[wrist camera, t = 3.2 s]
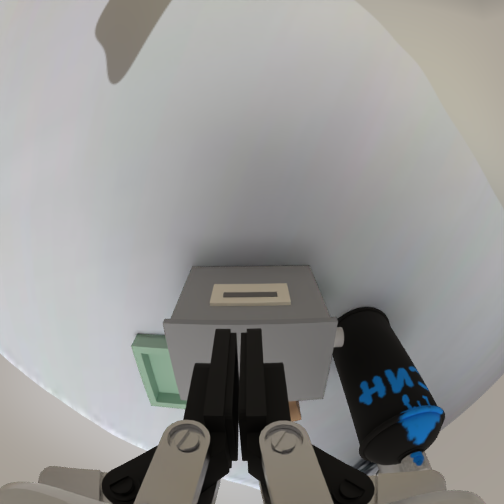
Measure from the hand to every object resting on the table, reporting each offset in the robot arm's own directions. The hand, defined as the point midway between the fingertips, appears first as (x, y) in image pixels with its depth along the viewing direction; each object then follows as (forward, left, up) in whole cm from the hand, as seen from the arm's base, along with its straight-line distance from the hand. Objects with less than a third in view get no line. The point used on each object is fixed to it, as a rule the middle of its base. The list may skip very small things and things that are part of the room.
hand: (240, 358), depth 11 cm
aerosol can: (-14, -13, -20) cm, 28 cm away
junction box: (-9, 0, -19) cm, 21 cm away
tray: (-19, +8, -19) cm, 29 cm away
